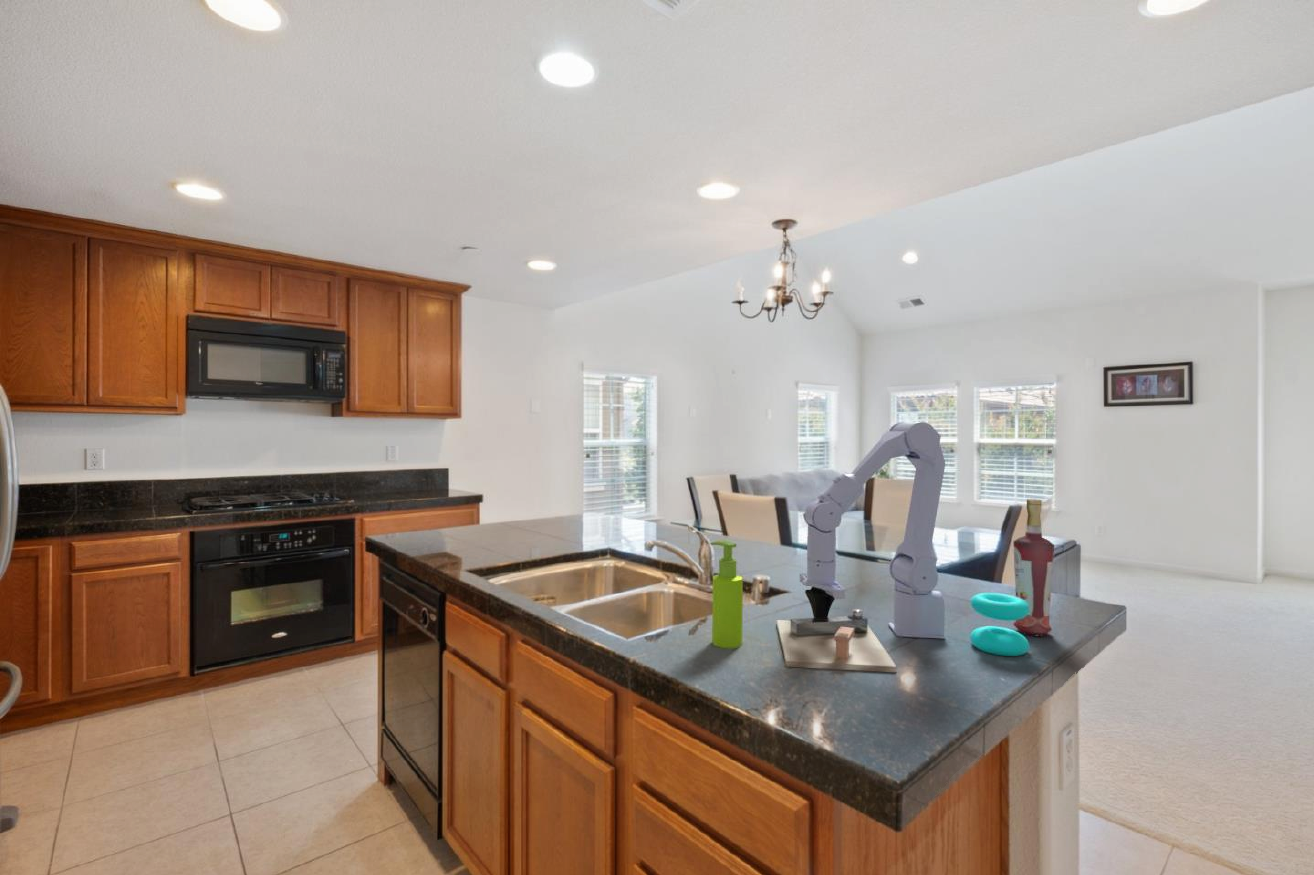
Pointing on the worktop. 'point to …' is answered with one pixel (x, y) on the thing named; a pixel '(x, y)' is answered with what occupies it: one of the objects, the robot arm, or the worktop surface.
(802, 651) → the hinge board
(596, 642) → the worktop surface
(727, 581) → the soap dispenser
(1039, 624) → the liquor
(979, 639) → the donuts
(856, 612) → the link
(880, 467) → the robot arm
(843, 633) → the block
